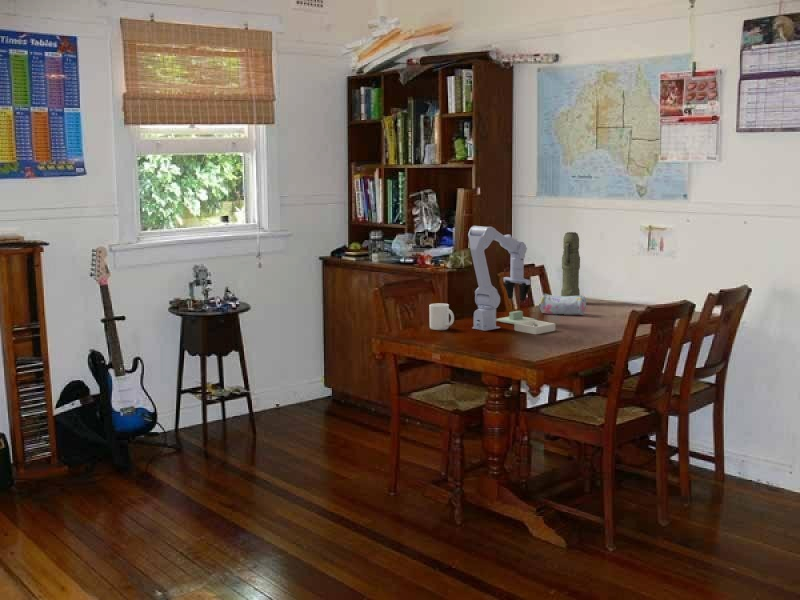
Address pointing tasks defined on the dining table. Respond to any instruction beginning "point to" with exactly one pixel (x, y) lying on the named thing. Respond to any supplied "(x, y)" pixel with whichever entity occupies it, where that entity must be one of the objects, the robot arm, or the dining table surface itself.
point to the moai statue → (570, 265)
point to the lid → (514, 318)
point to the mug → (440, 316)
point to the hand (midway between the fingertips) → (516, 299)
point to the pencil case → (562, 304)
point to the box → (534, 327)
